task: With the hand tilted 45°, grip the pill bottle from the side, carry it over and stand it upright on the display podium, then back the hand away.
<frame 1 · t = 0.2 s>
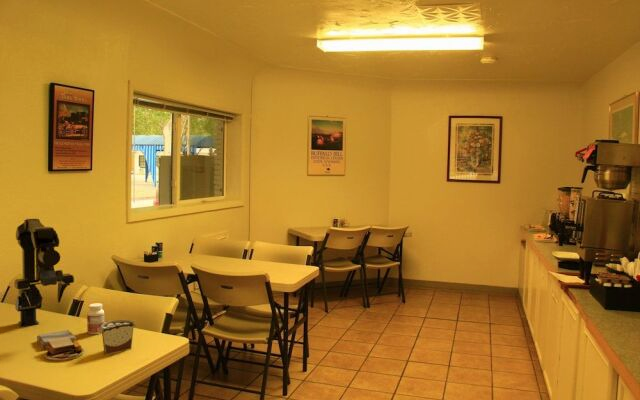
hand: (45, 304, 192), 15 cm above the table, tool pointing down, fingers open, 9 cm apart
toy sandwich meal: (62, 356, 182), on the table
display podium: (56, 342, 194), on the table
pill bottle: (95, 332, 207), on the table
food container: (115, 350, 189), on the table
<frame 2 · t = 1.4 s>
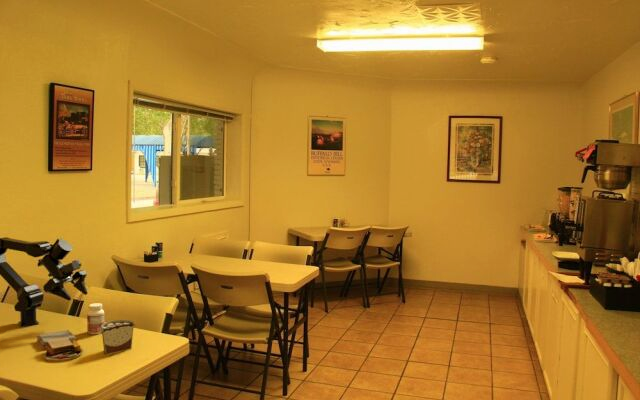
hand: (78, 297, 208), 13 cm above the table, tool tilted 45°, fingers open, 9 cm apart
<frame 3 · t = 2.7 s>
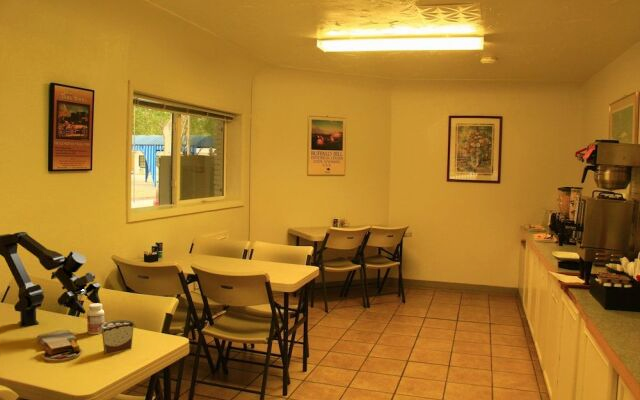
hand: (92, 309, 206), 9 cm above the table, tool tilted 45°, fingers open, 9 cm apart
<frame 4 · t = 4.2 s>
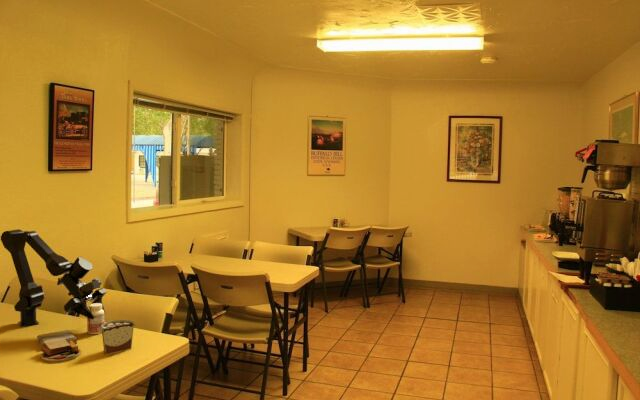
hand: (98, 316, 206), 7 cm above the table, tool tilted 45°, fingers closed on pill bottle, 6 cm apart
pill bottle: (95, 332, 207), on the table, touching gripper
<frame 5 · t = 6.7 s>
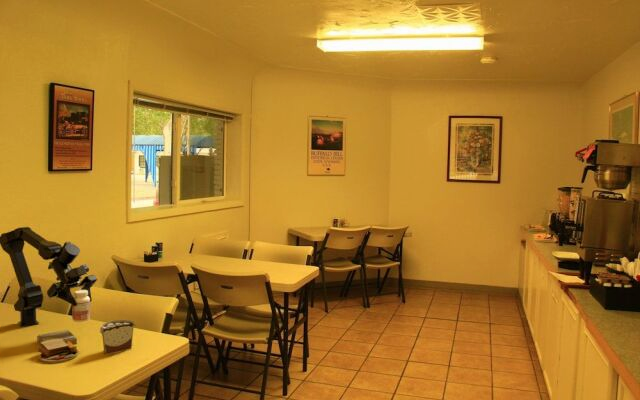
hand: (83, 303, 199), 13 cm above the table, tool tilted 45°, fingers closed on pill bottle, 6 cm apart
pill bottle: (81, 320, 200), point 6 cm above the table, touching gripper
when the fingers open (10 cm above the table, at t = 9.3 s): pill bottle drops 1 cm, resting on display podium.
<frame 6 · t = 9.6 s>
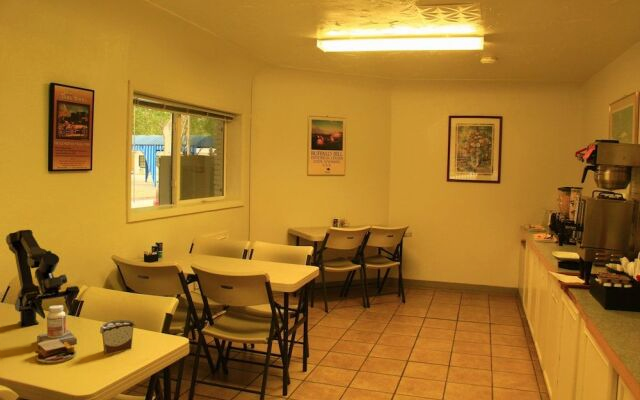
hand: (57, 315, 192), 11 cm above the table, tool tilted 45°, fingers open, 9 cm apart
pill bottle: (56, 336, 194), point 2 cm above the table, touching display podium
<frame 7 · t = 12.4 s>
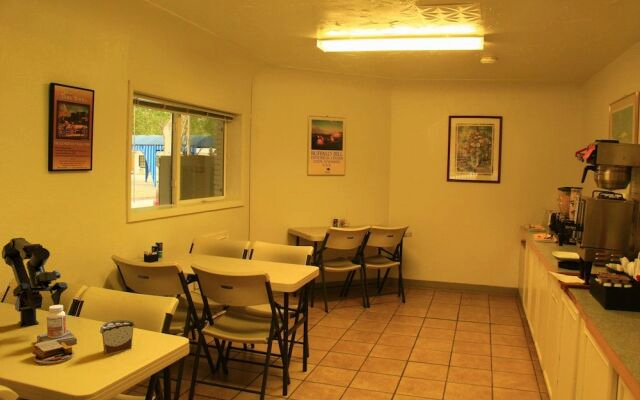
hand: (46, 309, 199), 11 cm above the table, tool tilted 40°, fingers open, 9 cm apart
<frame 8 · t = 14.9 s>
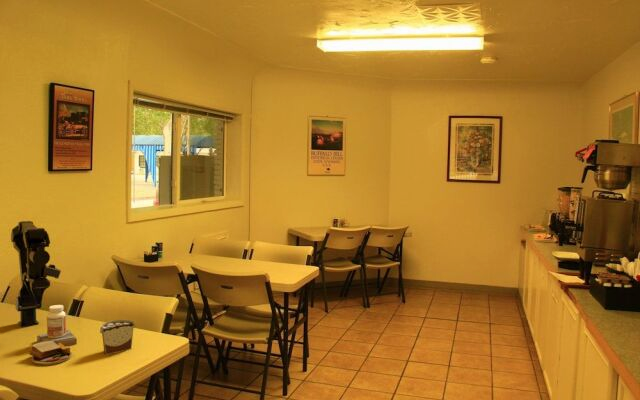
hand: (36, 301, 201), 13 cm above the table, tool pointing down, fingers open, 9 cm apart
at the end: pill bottle inside the target area on the display podium (0.2 cm from its centre), point 2.3 cm above the display podium's base; pill bottle tilted 0°; the gripper is holding nothing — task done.
